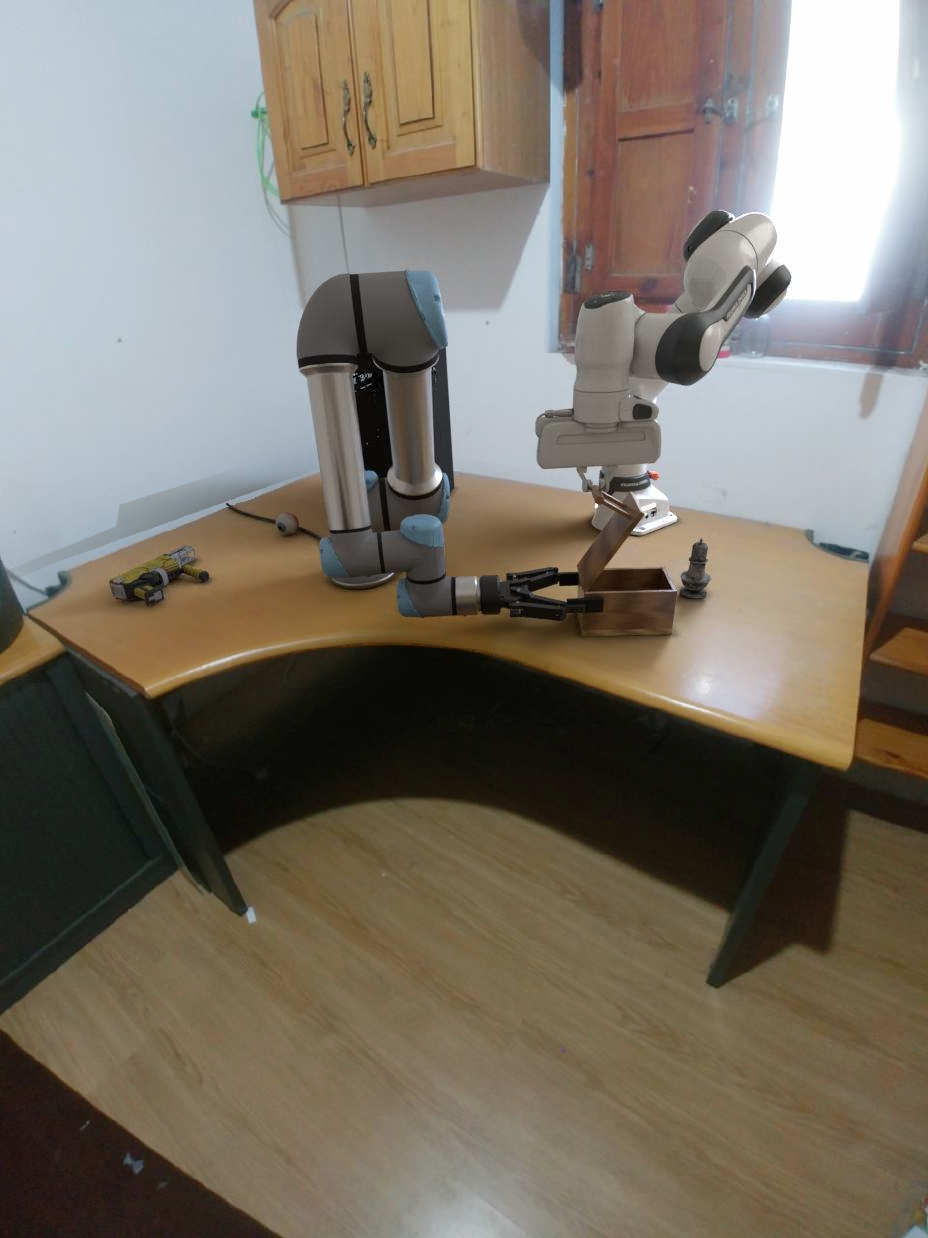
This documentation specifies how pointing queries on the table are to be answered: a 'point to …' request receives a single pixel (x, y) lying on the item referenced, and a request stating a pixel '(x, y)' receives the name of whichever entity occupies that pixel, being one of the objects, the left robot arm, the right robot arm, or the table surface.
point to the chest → (630, 602)
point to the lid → (609, 535)
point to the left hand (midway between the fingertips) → (597, 590)
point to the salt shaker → (696, 572)
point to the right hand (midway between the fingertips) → (595, 490)
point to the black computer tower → (376, 417)
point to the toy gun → (155, 576)
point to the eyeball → (287, 523)
